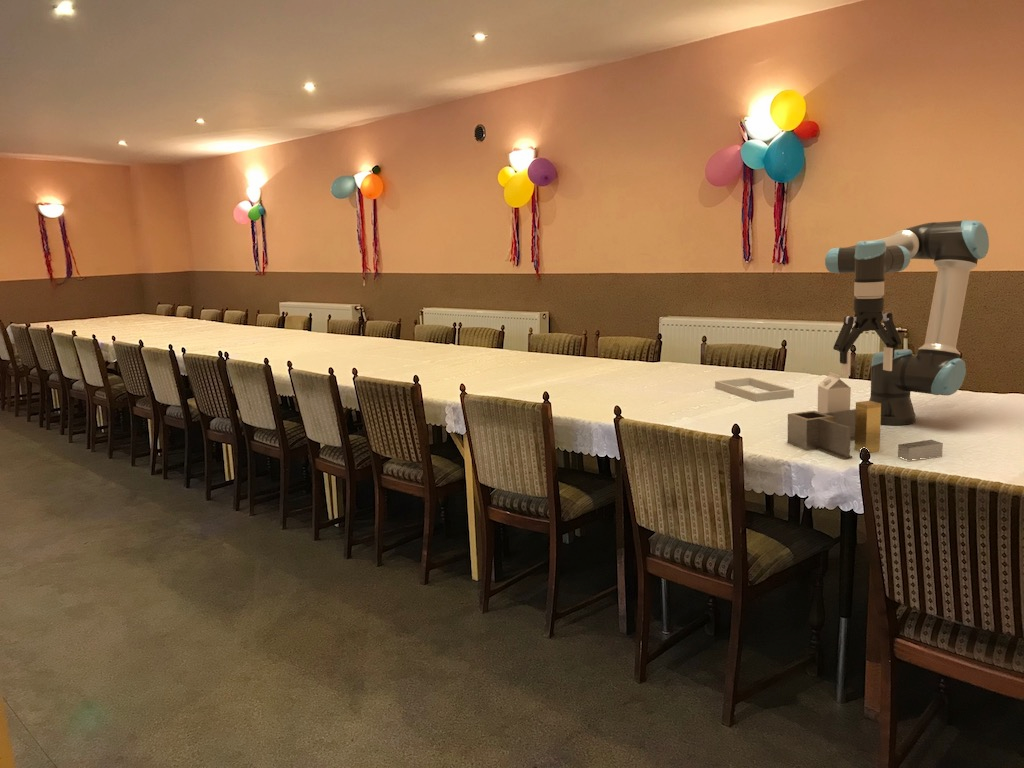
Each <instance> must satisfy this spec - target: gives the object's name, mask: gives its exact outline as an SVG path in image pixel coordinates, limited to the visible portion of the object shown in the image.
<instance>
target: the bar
mask: <svg viewBox="0 0 1024 768" xmlns="http://www.w3.org/2000/svg"><path fill="white" fill-rule="evenodd" d="M937 456H941V457H943V442H941V441H937V440H933V439H928V440H927V439H926V440H921V441H914V442H906V443H899V444H898V445H897V458H898V457H902V458H904V459H907V460H912V459H920V458H928V459H930V458H929V457H935V458H938V457H937Z"/></svg>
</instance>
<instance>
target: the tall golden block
mask: <svg viewBox="0 0 1024 768" xmlns="http://www.w3.org/2000/svg"><path fill="white" fill-rule="evenodd" d="M855 409H856V417H855V440H854V450H855V451H858V452H860V449H861V448H863V447H865V448H867V449H868V450H869V452H870V453H869V454H871V452H872V454H873V453H878V452H877V451H880V448H881V443H880V442H881V425H882V424H881V403H877V402H873V401H869V400H865V401H856V402H855Z"/></svg>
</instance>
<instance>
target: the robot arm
mask: <svg viewBox="0 0 1024 768" xmlns="http://www.w3.org/2000/svg"><path fill="white" fill-rule="evenodd" d="M989 246H990V239H989V233H988V230H987V228H986V225H984V223H982V222H981V221H979V220H967V219H963V220H954V221H937V222H936V221H935V222H934V221H933V222H927V223H926V222H925V223H922V224H917V225H914V226H910V227H907V228H903V229H901V230H898V231H896V232H894V233H893V234H892V235H890V236H887V237H882V238H879V239H878V238H877V239H875V240H873V239H872V240H860V241H858V242H857V243H856V244H855V245H851V246H847V247H840V246H839V247H835V248H834V247H833V248H830V249H829V250H828V251H827V253H826V254H825V257H824V258H825V259H824V266H825V268H826V270H827V271H828V272H829V273H831V274H839V275H841V274H854V281H853V282H854V283H853V284H854V285H853V286H854V287H853V295H854V297H856V298H854V299H853V311H854V316H849V315H848V316H847V315H845V316H844V318H843V324H842V327H841V328H840V331H839V333H838V335H837V338H836V340H835V342H834V345H833V350H835V351H838V352H839V363H840V364H841V375H842V376H846V377H850V376H851V362H852V361H851V359H852V358H851V357H852V355H851V354H852V352H851V351H850V350H851V348H852V346H853V345H854V344H855V342H856V341H857V339H858V338H859V337H860V335H861V334H863V333H864V332H870V331H872V332H873V331H875V333H876V334H877V336H878V337H879V338H880V339H881V341H882V342H883V343H884V345H885V346H884V347H883V351H878V352H875V353H874V354H873V355H872V357H871V364H870V369H871V370H870V396H869V399H868V401H873V402H877V403H881V424H880V425H885V426H886V425H887V426H904V425H905V426H906V425H910V424H914V423H916V417H917V416H916V412H915V411H914V405H913V403H912V399H911V393H921V394H926V395H927V394H929V395H934V396H952V395H954V394H955V393H956V392H958V390H959V389H960V388H961V387H962V385H963V383H964V380H965V378H966V374H967V368H966V366H967V365H966V362H965V361H964V359H961V352H960V351H959V350H958V349H957V344H958V340H959V339H958V338H959V331H960V327H961V322H962V316H963V312H964V310H963V309H964V305H965V300H966V294H967V289H968V285H969V278H970V273H971V271H972V270H974V269H975V268H976V267H977V266H978V262H979V261H978V260H982V259H984V258H986V256H987V254H988V252H989ZM911 260H934V261H933V265H934V266H935V267H936V268H937V274H936V279H935V286H934V290H933V297H932V300H931V301H932V302H931V307H930V311H929V312H930V313H929V318H928V324H927V329H926V334H925V339H924V340H925V341H924V343H923V345H921V346H920V347H919V348H918V349H917V352H916V355H915V354H914V353H913V350H911V349H909V348H907V349H906V348H905V349H903V348H902V349H897V348H898V345H899V346H900V345H901V344H902V340H901V337H900V335H899V333H898V330H897V328H896V325H895V322H894V321H893V319H894V318H893V313H891V312H884V307H885V299H884V297H883V296H884V295H885V274H891V273H892V274H893V273H894V274H896V273H898V272H902V271H904V270H906V269H907V268H908V267H909V265H910V262H911ZM882 322H883V324H882ZM849 351H850V352H849Z"/></svg>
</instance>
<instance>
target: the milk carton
mask: <svg viewBox="0 0 1024 768" xmlns="http://www.w3.org/2000/svg"><path fill="white" fill-rule="evenodd" d="M851 391H852V389H851V387H850V386H849V385H848V384H847V383H845V382H844V381H843V380H842V379H841V375H839V374H837V373H834V372H831V371H829V372H828V376H826V377H825V378H824V379H823V380H822V381H821V382H819V384H818V385H817V412H820V413H829V412H837V411H845V410H851V394H852V393H851Z"/></svg>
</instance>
